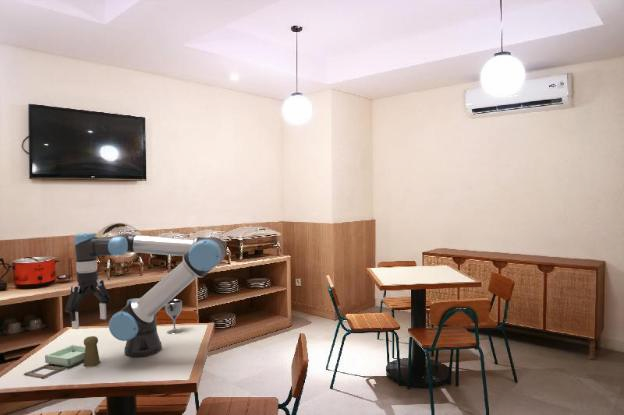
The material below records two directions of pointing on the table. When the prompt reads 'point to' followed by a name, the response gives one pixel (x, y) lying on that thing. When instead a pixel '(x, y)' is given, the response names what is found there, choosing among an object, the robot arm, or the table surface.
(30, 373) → the rails
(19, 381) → the table surface
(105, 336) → the table surface
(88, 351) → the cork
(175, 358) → the table surface
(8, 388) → the table surface
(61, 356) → the shallow green tray
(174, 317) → the wine glass
